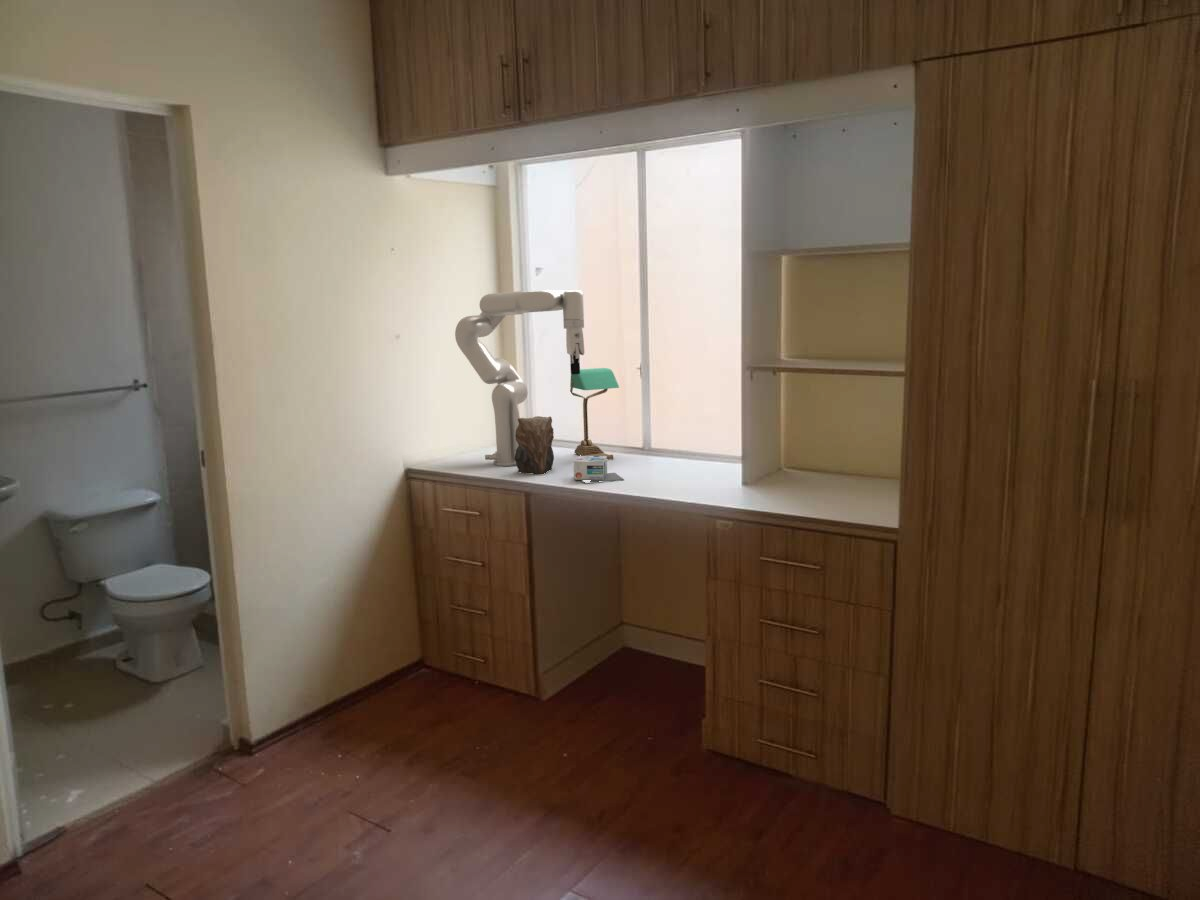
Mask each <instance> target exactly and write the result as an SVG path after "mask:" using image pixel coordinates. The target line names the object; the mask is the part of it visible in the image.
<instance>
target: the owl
mask: <svg viewBox="0 0 1200 900" xmlns="http://www.w3.org/2000/svg"><path fill="white" fill-rule="evenodd" d="M518 422H519V425H518V427H517V429H516V435H515V437H516V441H517V442H518V444H519V446H518V448H517V449H516V454H515V457H514V460H515V461H516V464H517V465H516V467H517V470H518V473H519V472H521V473H520V474H526V473H533V474H532V475H538V474H544V473H545V474H546V472H547V471H549V470H550V471H552V470H551V469H553V465H554V459H555V455H554V451H553V447H552V444H553V439H554V437H555V436H554V435H555V434H554V428H553V426H552V423H553V419H552V416H538V415H537V416H533V417H527V418H525V417H520V418H518ZM550 471H549V472H550ZM547 473H548V472H547ZM545 474H544V475H545Z"/></svg>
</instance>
